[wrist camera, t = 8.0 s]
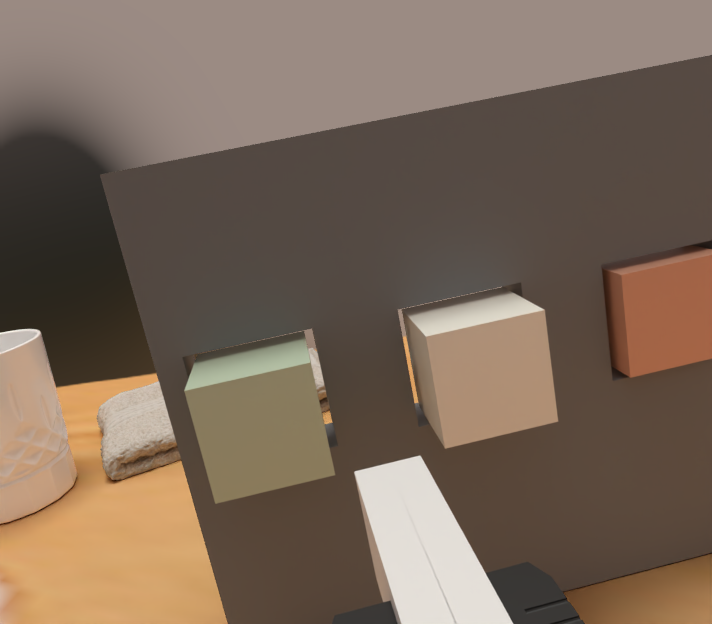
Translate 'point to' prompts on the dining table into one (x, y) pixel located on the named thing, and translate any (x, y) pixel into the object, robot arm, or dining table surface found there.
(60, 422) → the white cup
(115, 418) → the washcloth
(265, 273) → the button panel
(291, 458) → the sage button
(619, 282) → the terracotta button
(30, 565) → the dining table surface
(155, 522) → the dining table surface
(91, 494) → the dining table surface
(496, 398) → the ivory button
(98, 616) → the dining table surface
